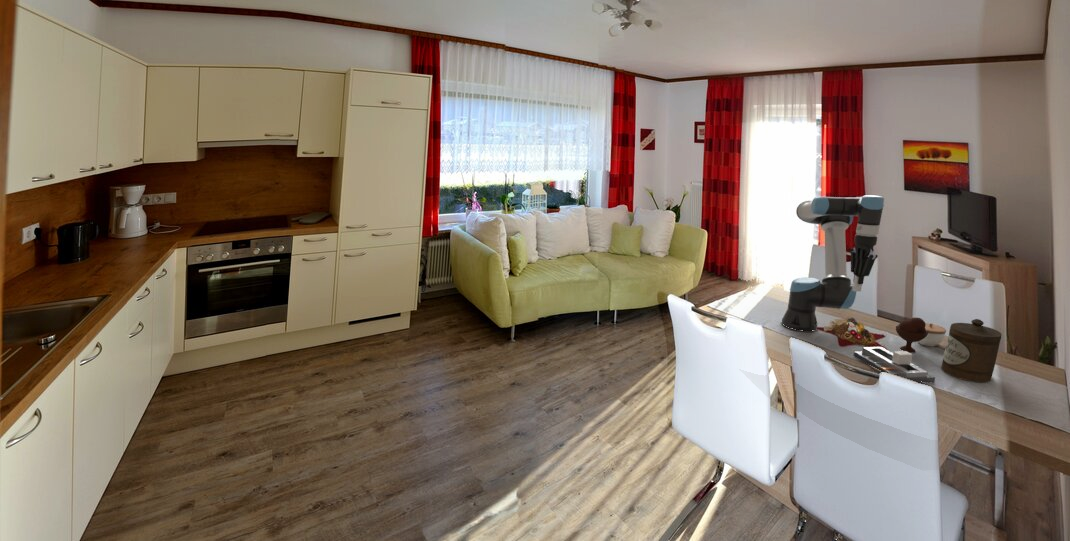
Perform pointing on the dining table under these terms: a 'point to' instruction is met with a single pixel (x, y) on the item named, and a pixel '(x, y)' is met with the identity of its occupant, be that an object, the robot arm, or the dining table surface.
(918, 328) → the ice cream bowl
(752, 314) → the dining table surface
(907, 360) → the fader knob
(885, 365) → the fader console
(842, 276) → the robot arm
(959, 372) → the wooden container
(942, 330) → the lidded jar
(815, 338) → the dining table surface
